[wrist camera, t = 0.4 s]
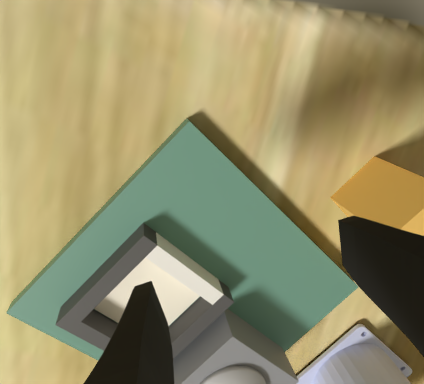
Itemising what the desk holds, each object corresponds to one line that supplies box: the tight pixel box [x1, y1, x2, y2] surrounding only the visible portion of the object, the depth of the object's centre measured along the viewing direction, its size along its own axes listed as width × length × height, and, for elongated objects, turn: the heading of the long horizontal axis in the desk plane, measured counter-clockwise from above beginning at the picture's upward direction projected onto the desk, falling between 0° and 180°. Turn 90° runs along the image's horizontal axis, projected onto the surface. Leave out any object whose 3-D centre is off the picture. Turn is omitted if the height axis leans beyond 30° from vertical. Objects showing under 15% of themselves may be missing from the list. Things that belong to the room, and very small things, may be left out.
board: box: [7, 119, 358, 384], centre depth 22 cm, size 18×16×4 cm
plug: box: [330, 156, 424, 236], centre depth 21 cm, size 4×4×7 cm
